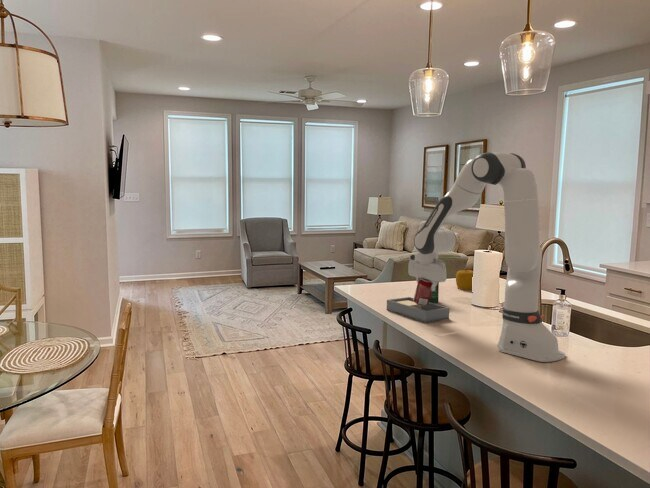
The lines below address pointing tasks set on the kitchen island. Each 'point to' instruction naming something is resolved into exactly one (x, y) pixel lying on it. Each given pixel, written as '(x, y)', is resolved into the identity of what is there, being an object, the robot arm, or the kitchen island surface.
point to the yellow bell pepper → (464, 279)
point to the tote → (418, 310)
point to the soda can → (423, 292)
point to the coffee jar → (435, 295)
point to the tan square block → (410, 304)
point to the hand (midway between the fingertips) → (426, 289)
